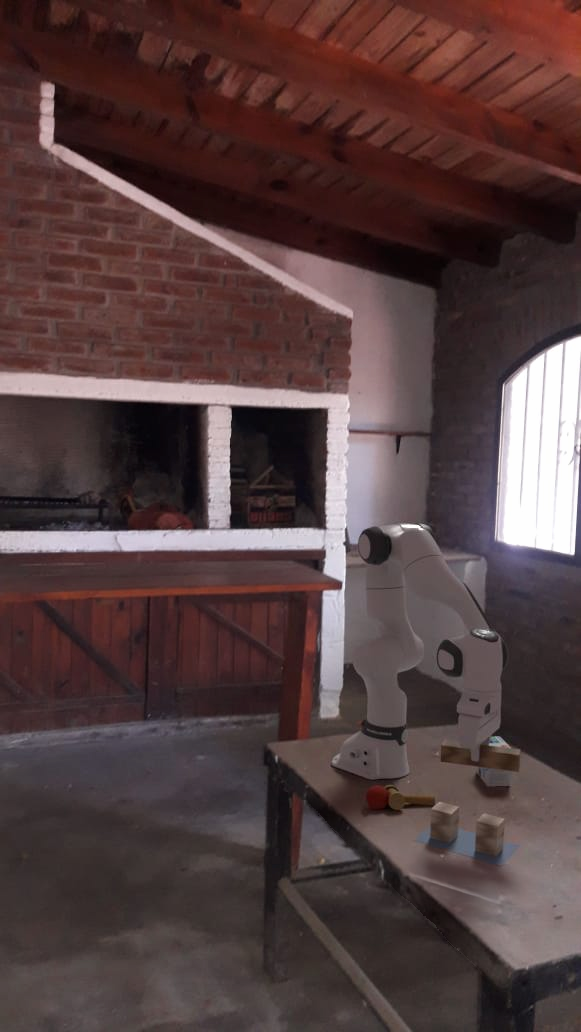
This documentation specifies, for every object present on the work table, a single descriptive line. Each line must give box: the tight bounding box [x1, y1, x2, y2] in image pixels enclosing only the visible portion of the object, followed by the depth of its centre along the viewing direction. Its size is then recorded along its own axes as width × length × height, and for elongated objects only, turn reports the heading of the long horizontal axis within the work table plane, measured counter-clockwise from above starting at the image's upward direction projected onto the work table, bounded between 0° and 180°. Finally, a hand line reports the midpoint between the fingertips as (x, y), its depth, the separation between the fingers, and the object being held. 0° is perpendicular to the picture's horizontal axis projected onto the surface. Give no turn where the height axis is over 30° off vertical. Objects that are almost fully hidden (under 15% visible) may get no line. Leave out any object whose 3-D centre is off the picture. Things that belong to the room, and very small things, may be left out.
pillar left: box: [430, 801, 460, 843], centre depth 197 cm, size 5×5×7 cm
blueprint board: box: [413, 824, 519, 867], centre depth 195 cm, size 21×12×1 cm, turn 58°
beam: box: [440, 739, 521, 773], centre depth 197 cm, size 18×4×4 cm, turn 71°
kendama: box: [365, 784, 436, 811], centre depth 215 cm, size 8×6×18 cm
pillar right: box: [475, 813, 506, 857], centre depth 191 cm, size 5×5×7 cm
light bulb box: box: [475, 735, 512, 787], centre depth 235 cm, size 11×7×11 cm, turn 5°
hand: (479, 756), depth 197 cm, fingers closed on beam, 4 cm apart
